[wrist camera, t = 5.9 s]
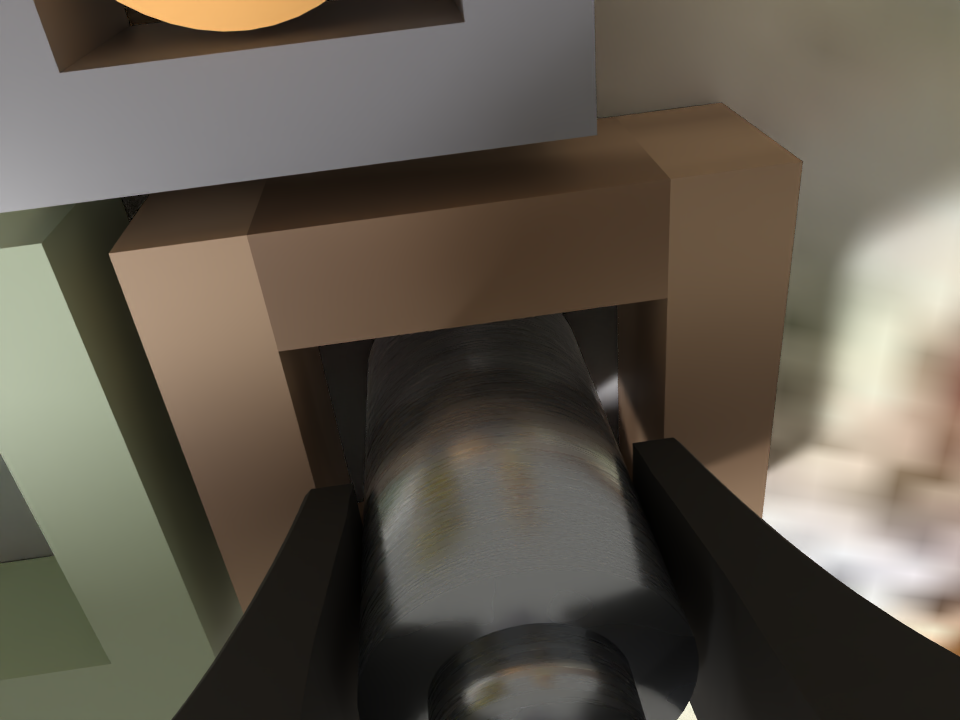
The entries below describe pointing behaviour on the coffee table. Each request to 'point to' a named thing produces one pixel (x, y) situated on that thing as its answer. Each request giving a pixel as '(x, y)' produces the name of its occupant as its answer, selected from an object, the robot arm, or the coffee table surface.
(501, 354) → the steel pin
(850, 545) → the coffee table surface
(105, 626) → the frame
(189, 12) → the button
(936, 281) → the coffee table surface
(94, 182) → the button housing
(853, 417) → the coffee table surface
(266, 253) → the socket block
